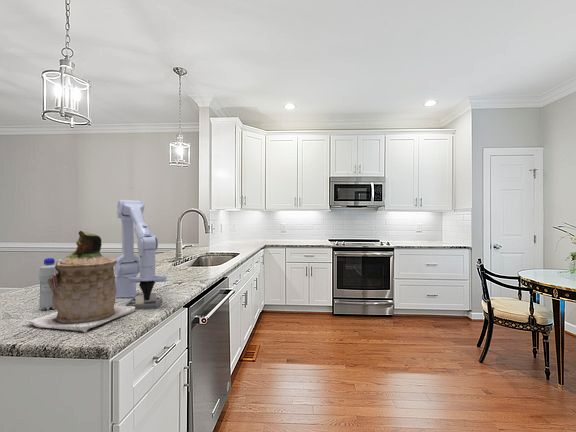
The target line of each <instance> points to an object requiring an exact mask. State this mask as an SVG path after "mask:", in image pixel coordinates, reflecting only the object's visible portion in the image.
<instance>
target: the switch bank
mask: <svg viewBox="0 0 576 432" xmlns="http://www.w3.org/2000/svg"><path fill="white" fill-rule="evenodd" d="M135 298H136V296H135V297H131V299H129V300H128V301H127V302H126V303H125V306H134V307H135V310H149V309H159V307H160V305H161V304H162V303H163V296H161V295H160V296H159V297H158V296H157V300H148V301H145V304H141V303H140V304H135Z"/></svg>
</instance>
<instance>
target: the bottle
mask: <svg viewBox="0 0 576 432" xmlns="http://www.w3.org/2000/svg"><path fill="white" fill-rule="evenodd" d="M43 264H44V265H41V266H40V267H39V272H38V280H39V299H38V300H39V302H38V304H39V305H38V306H39V309H40V310H41V311H45V310H47V311H49V310H50V309H51V310H55V309H56V308H54V307H53V302H52V297H53V292H52V291H51V289H50V286H49V285H48V279H49V278H50V277H53V274H54V273H58V271H57V270H56V268H55V265H56V264H55V259H54V258H53V257H47V258H44V260H43Z"/></svg>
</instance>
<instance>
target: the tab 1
mask: <svg viewBox="0 0 576 432" xmlns="http://www.w3.org/2000/svg"><path fill="white" fill-rule="evenodd" d="M140 303H141V304H145V298H144V294H141V295H139V294H137V295H136V296H135V304H140Z"/></svg>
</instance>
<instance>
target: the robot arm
mask: <svg viewBox="0 0 576 432" xmlns="http://www.w3.org/2000/svg"><path fill="white" fill-rule="evenodd" d="M116 208H117V209H116V215H117V218H118V219H120V220H121V255H120V256H119V257H117V258H115V260H117V263H116V264H115V265H114V275H115V284H116V297H115V299H117V298H118V299H119V298H133V297H135V298H136V296H137V295H139V294H140V293H139V292H140V291H137V283H138V284H139V288H140V289H141V291H142V293H143V294H142V295H144V298H145V301H148V300H149V299H150V294H151V292H153V288H154V286H155V284H156V283H161V282H163V283H166V282H168V281H167V279H168V277H167V276H165V275H164V276H163V275H156V251H157V250H158V246H159V241H158V238H157V236H156V235H155V234H153V233H152V231H151V228H150V226H149V224H147V223H146V222H145V219H144V216H143V215H144V211H145V203H144V201H143V200H141V199H139V200H133V199H132V200H131V199H129V200H128V199H119V200H118V201H117V207H116ZM134 225H135V226H134ZM134 233H135V236H136V238H137V250H138V256H139V257H138V256H136V255H135V253H134V252H135V249H134V248H135V246H134V244H135V243H134V237H135V236H134ZM138 275H139V276H138Z"/></svg>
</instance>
